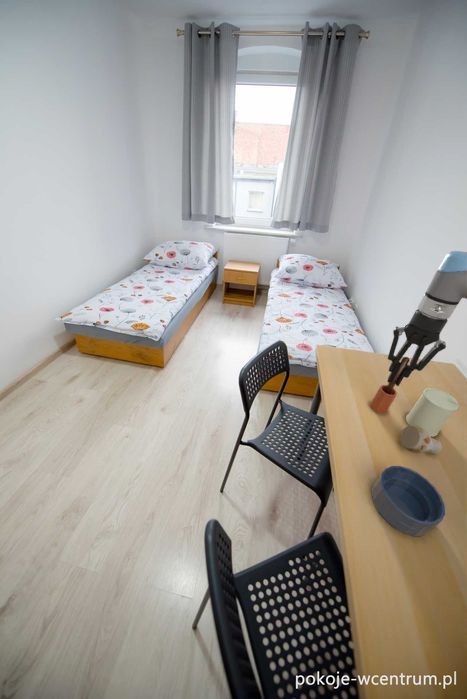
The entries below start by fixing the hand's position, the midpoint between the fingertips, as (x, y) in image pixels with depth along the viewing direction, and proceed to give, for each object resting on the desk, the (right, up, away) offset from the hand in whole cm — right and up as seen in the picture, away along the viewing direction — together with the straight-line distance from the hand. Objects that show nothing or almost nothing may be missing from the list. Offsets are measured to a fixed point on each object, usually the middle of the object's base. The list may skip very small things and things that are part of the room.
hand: (393, 381), depth 85 cm
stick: (-1, -8, +5) cm, 9 cm away
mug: (+4, -18, -5) cm, 20 cm away
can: (+10, -14, +2) cm, 18 cm away
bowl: (-10, -27, -20) cm, 35 cm away
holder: (-1, -9, +6) cm, 12 cm away
